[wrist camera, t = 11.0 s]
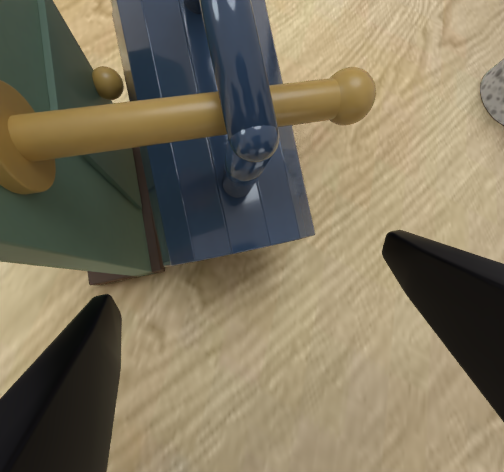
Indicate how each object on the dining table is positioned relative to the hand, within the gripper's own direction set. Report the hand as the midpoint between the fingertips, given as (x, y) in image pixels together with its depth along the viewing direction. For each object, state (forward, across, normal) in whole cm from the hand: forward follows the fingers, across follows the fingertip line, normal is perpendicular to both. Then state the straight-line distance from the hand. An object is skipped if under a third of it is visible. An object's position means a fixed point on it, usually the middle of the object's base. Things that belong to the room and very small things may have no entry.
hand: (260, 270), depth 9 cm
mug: (+10, 0, -9) cm, 13 cm away
